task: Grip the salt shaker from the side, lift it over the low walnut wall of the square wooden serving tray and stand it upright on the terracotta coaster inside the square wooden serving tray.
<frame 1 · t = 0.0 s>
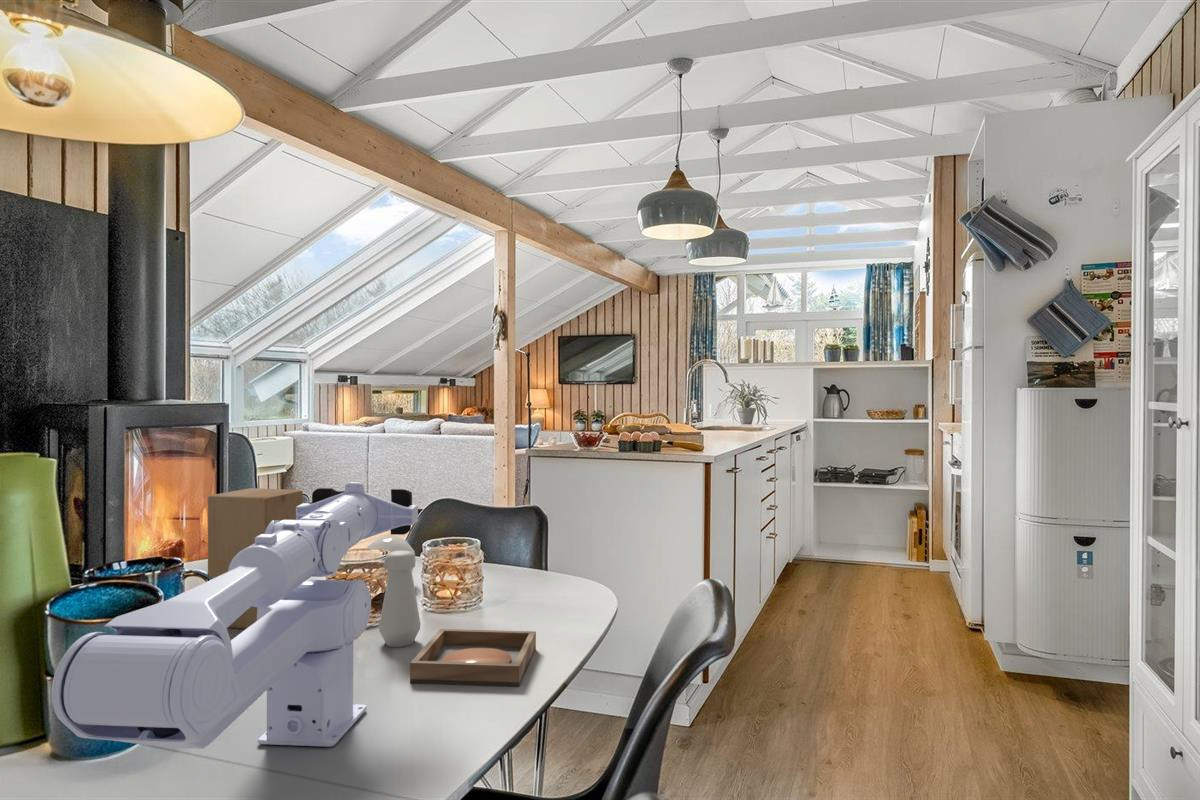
hand: (381, 498, 101), 22 cm above the table, tool horizontal, fingers open, 7 cm apart
wooden block: (256, 620, 120), on the table
square wooden serving tray: (476, 665, 101), on the table
white rounded ovoid: (385, 591, 138), on the table
coaster: (476, 660, 101), in the square wooden serving tray, point 1 cm above the table
salt shaker: (399, 644, 109), on the table
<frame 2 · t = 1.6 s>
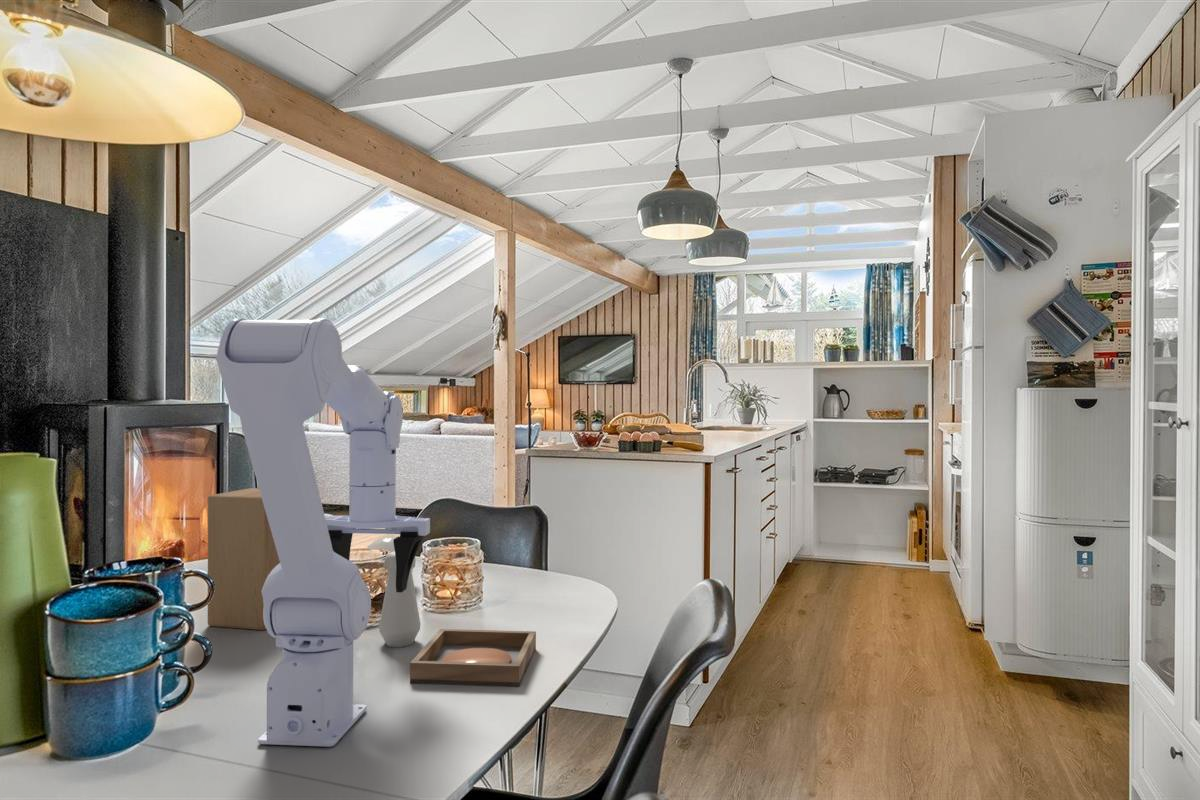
hand: (372, 589, 98), 10 cm above the table, tool pointing down, fingers open, 7 cm apart
nothing on the table moved.
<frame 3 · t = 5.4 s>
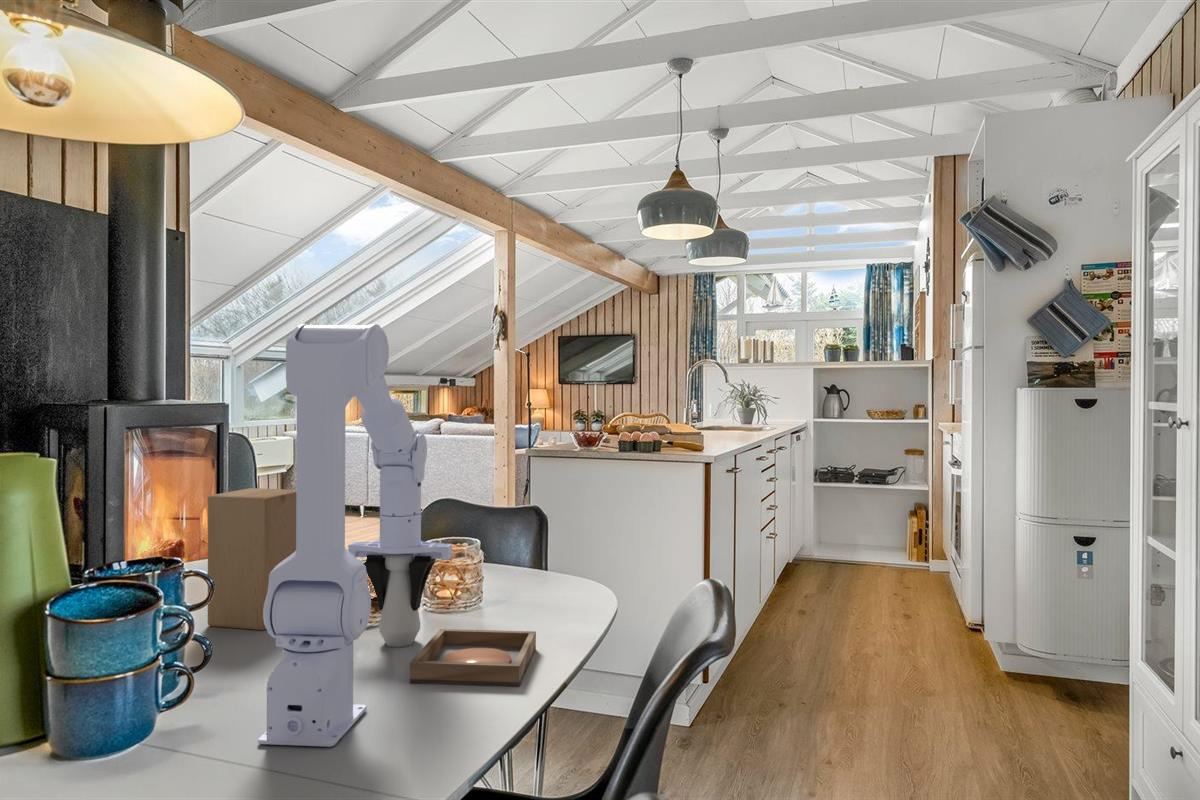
hand: (400, 608, 109), 5 cm above the table, tool pointing down, fingers closed on salt shaker, 4 cm apart
salt shaker: (399, 643, 109), on the table, touching gripper
everything else where it was.
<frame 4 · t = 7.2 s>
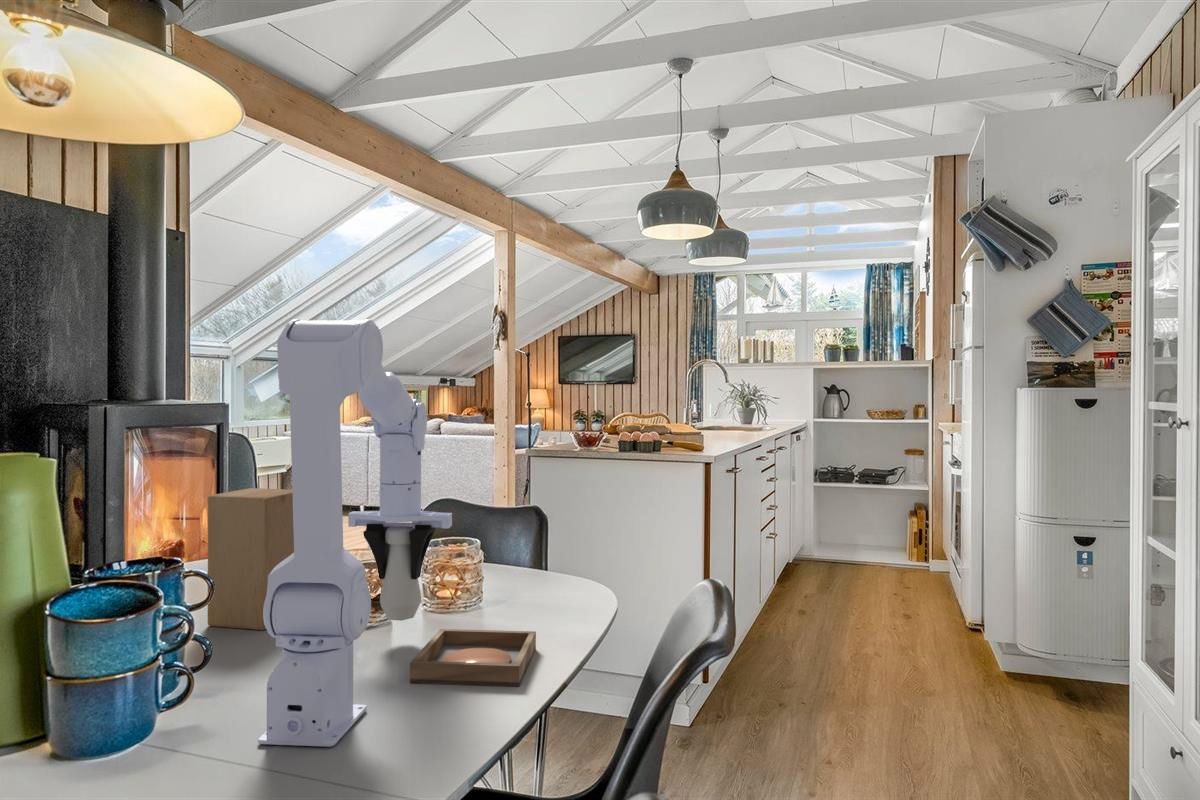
hand: (400, 577, 109), 9 cm above the table, tool pointing down, fingers closed on salt shaker, 4 cm apart
salt shaker: (401, 617, 110), point 3 cm above the table, touching gripper
everything else where it was.
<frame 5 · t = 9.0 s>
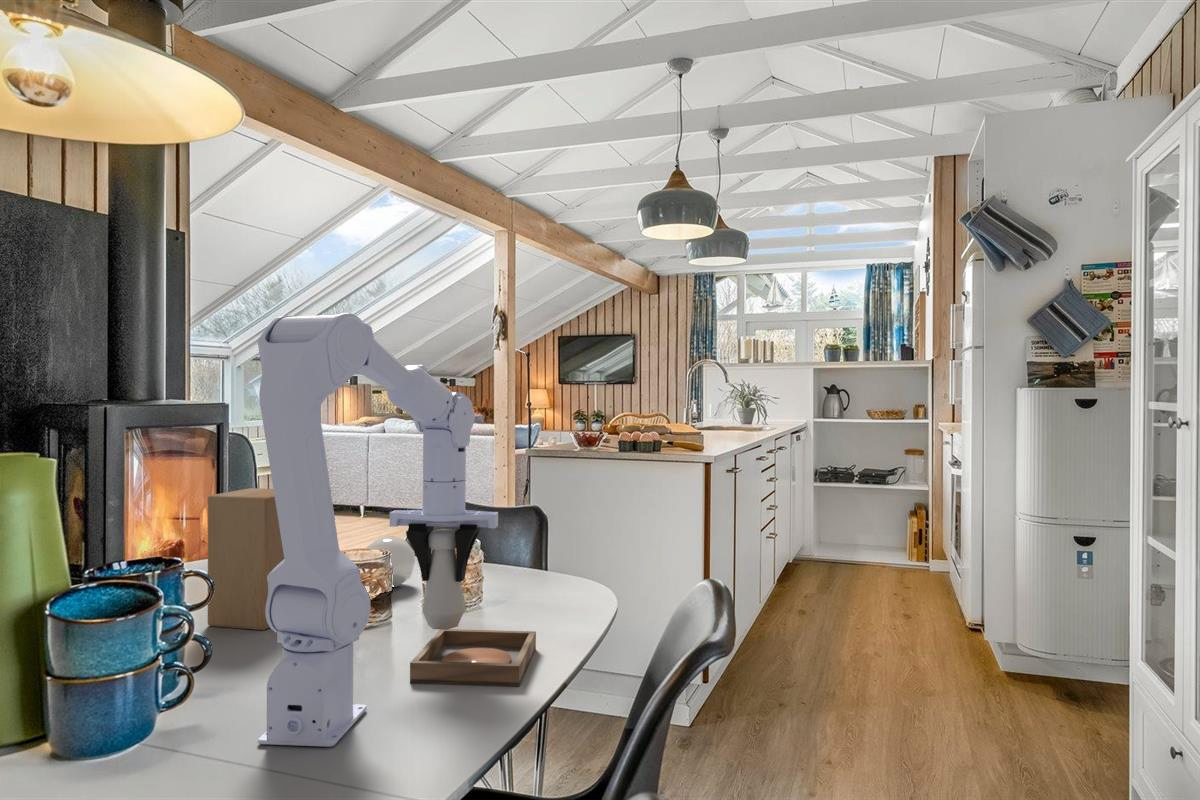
hand: (443, 579, 104), 10 cm above the table, tool pointing down, fingers closed on salt shaker, 4 cm apart
salt shaker: (444, 626, 105), point 4 cm above the table, touching gripper
everything else where it was.
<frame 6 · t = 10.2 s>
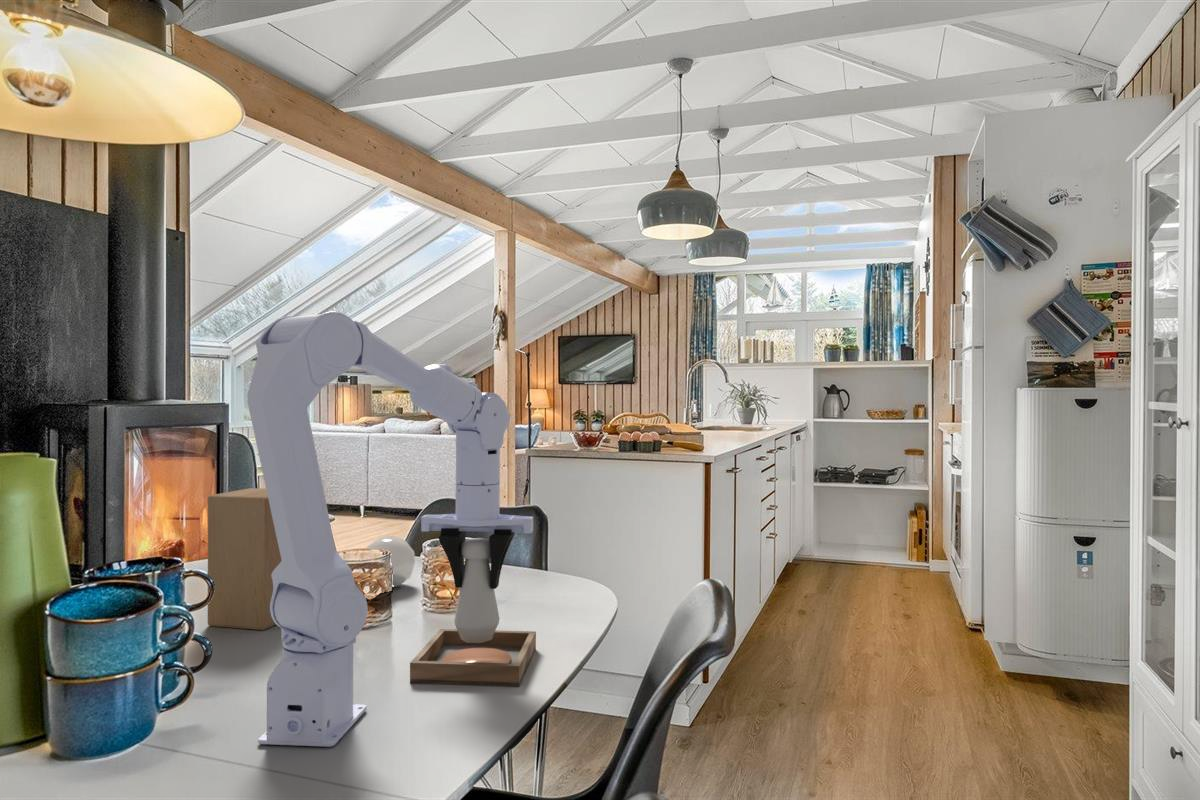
hand: (477, 586, 100), 10 cm above the table, tool pointing down, fingers closed on salt shaker, 4 cm apart
salt shaker: (477, 639, 100), point 3 cm above the table, touching gripper
everything else where it was.
when the fingers open (6 cm above the table, at t = 13.2 s): salt shaker stays where it is, resting on coaster.
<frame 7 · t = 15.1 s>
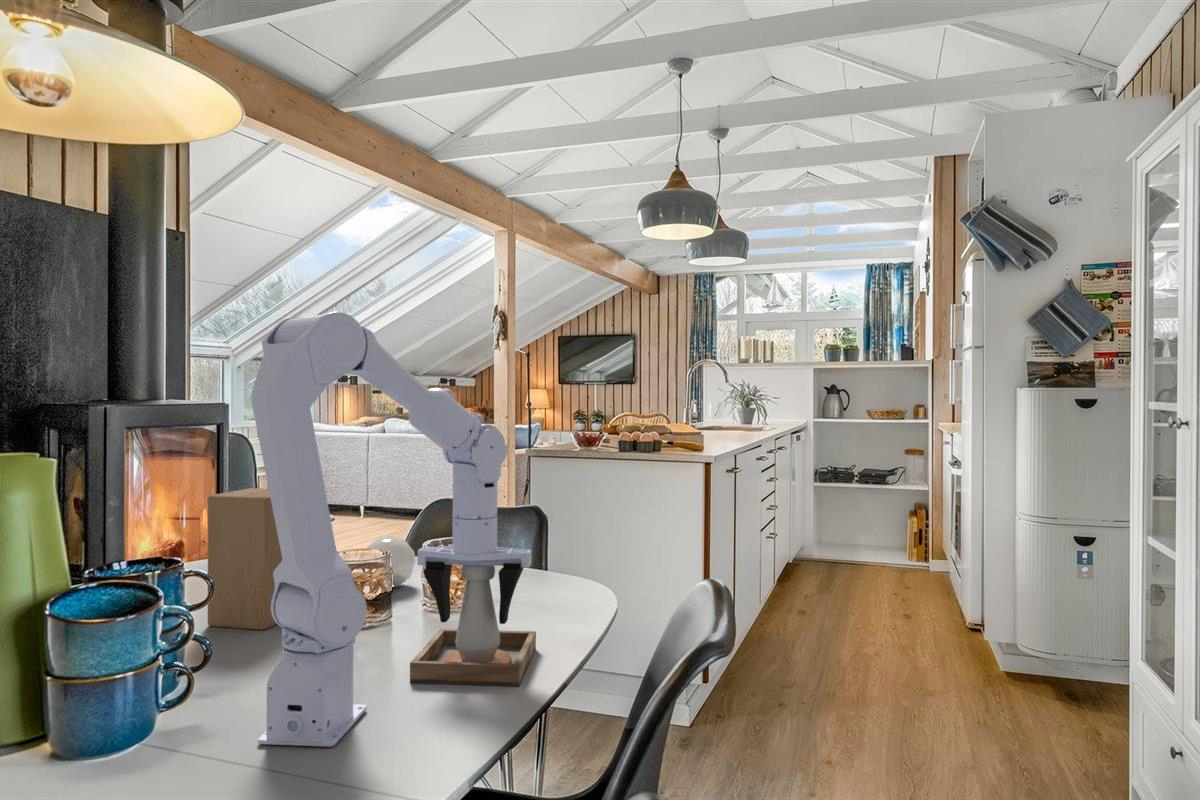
hand: (474, 620, 99), 6 cm above the table, tool pointing down, fingers open, 7 cm apart
salt shaker: (477, 660, 100), point 1 cm above the table, touching coaster
everything else where it was.
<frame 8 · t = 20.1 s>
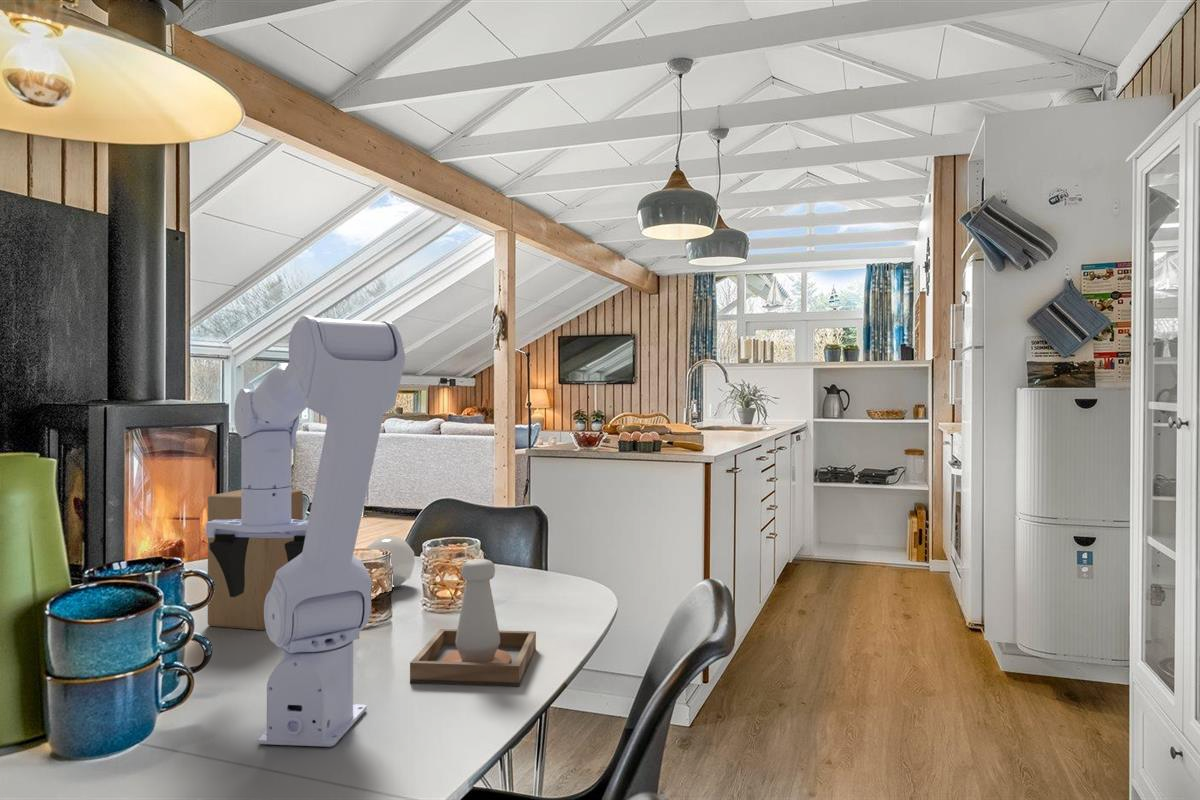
hand: (266, 595, 95), 10 cm above the table, tool pointing down, fingers open, 7 cm apart
nothing on the table moved.
at the end: salt shaker inside the target area on the square wooden serving tray (0.2 cm from its centre), point 0.6 cm above the square wooden serving tray's base; salt shaker tilted 0°; the gripper is holding nothing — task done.
